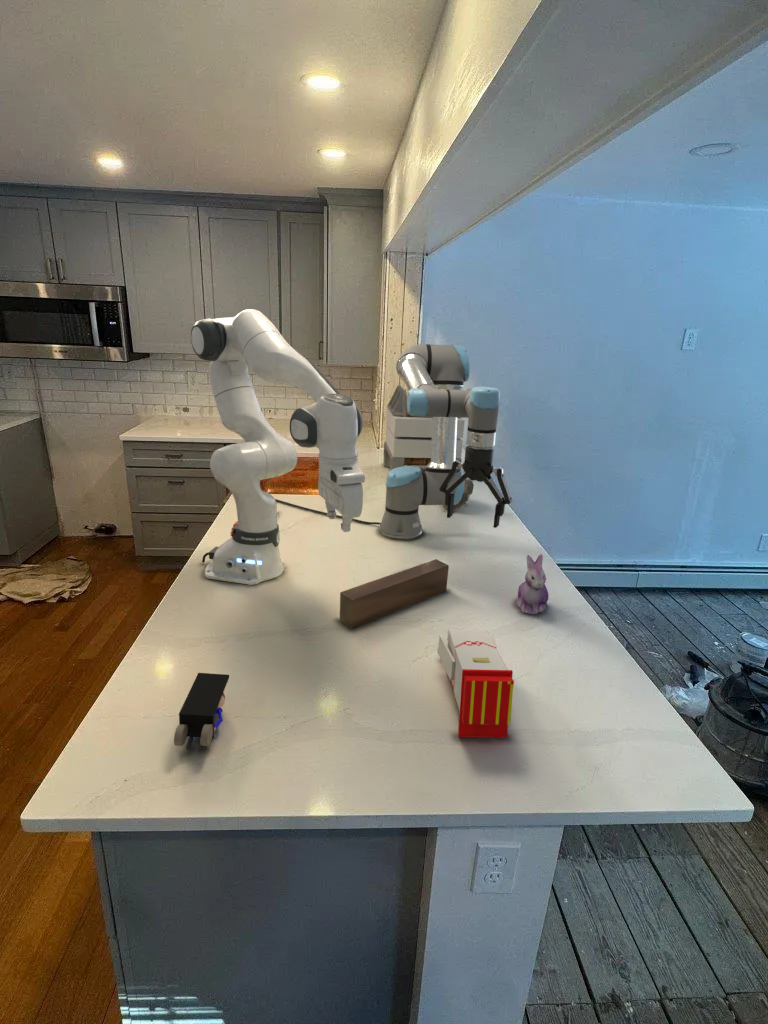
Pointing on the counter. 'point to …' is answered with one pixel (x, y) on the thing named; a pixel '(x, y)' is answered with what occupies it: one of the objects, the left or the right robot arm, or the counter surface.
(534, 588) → the figurine
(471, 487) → the fossil
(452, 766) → the counter surface
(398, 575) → the plank
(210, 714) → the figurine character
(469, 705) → the toy
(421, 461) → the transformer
